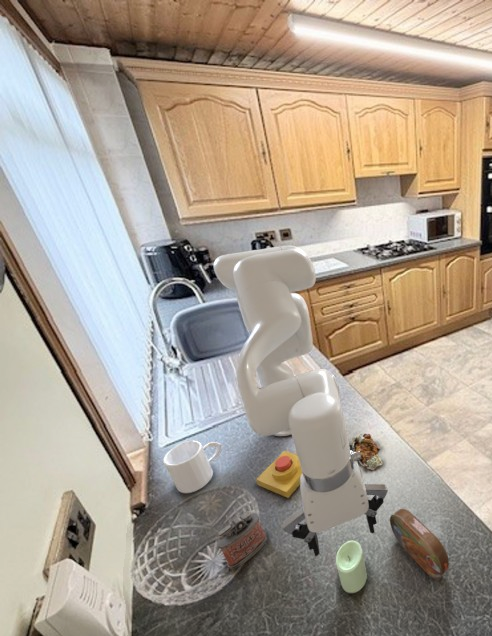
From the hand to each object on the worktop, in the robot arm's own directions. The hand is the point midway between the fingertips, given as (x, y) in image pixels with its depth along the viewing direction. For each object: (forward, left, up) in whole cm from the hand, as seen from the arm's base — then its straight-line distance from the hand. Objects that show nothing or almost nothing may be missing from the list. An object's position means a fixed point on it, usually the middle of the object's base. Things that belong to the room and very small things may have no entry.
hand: (344, 536), depth 62 cm
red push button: (-14, -30, -10) cm, 35 cm away
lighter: (+4, -24, -14) cm, 28 cm away
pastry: (-28, -14, -14) cm, 35 cm away
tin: (-9, +10, -14) cm, 19 cm away
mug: (-6, -51, -14) cm, 53 cm away
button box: (-14, -30, -14) cm, 36 cm away
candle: (0, 0, -14) cm, 14 cm away
